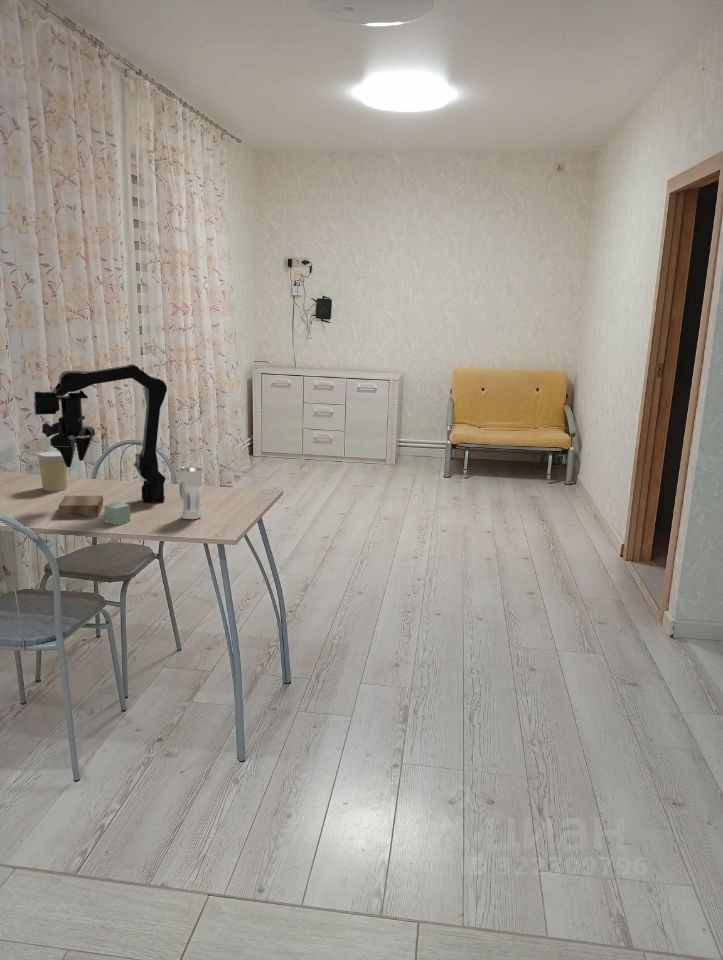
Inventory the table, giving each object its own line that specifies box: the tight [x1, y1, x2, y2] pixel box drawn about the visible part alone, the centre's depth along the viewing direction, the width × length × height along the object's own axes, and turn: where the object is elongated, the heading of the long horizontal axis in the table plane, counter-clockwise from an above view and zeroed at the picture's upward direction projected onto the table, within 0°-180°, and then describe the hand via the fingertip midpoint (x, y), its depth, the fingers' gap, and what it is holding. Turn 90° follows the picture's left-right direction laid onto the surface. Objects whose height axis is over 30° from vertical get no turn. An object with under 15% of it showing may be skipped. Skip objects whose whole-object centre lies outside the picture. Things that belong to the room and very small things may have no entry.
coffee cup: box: [37, 450, 69, 492], centre depth 251 cm, size 9×9×12 cm
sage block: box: [104, 501, 131, 525], centre depth 220 cm, size 5×5×5 cm
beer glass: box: [178, 466, 204, 520], centre depth 226 cm, size 7×7×15 cm
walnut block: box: [58, 495, 104, 518], centre depth 228 cm, size 11×11×4 cm
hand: (75, 463), depth 231 cm, fingers open, 9 cm apart
